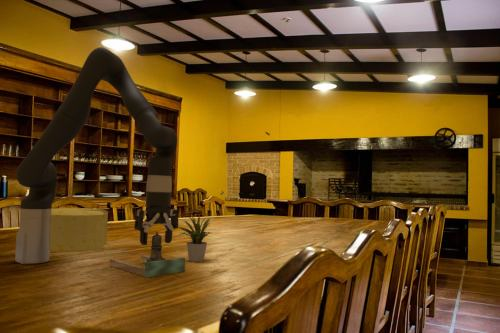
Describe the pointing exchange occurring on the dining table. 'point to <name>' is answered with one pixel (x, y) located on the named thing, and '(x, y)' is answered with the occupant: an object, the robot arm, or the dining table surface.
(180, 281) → the dining table surface
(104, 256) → the dining table surface
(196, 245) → the house plant
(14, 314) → the dining table surface
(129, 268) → the guide channel
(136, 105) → the robot arm
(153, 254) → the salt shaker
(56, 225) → the cheese
